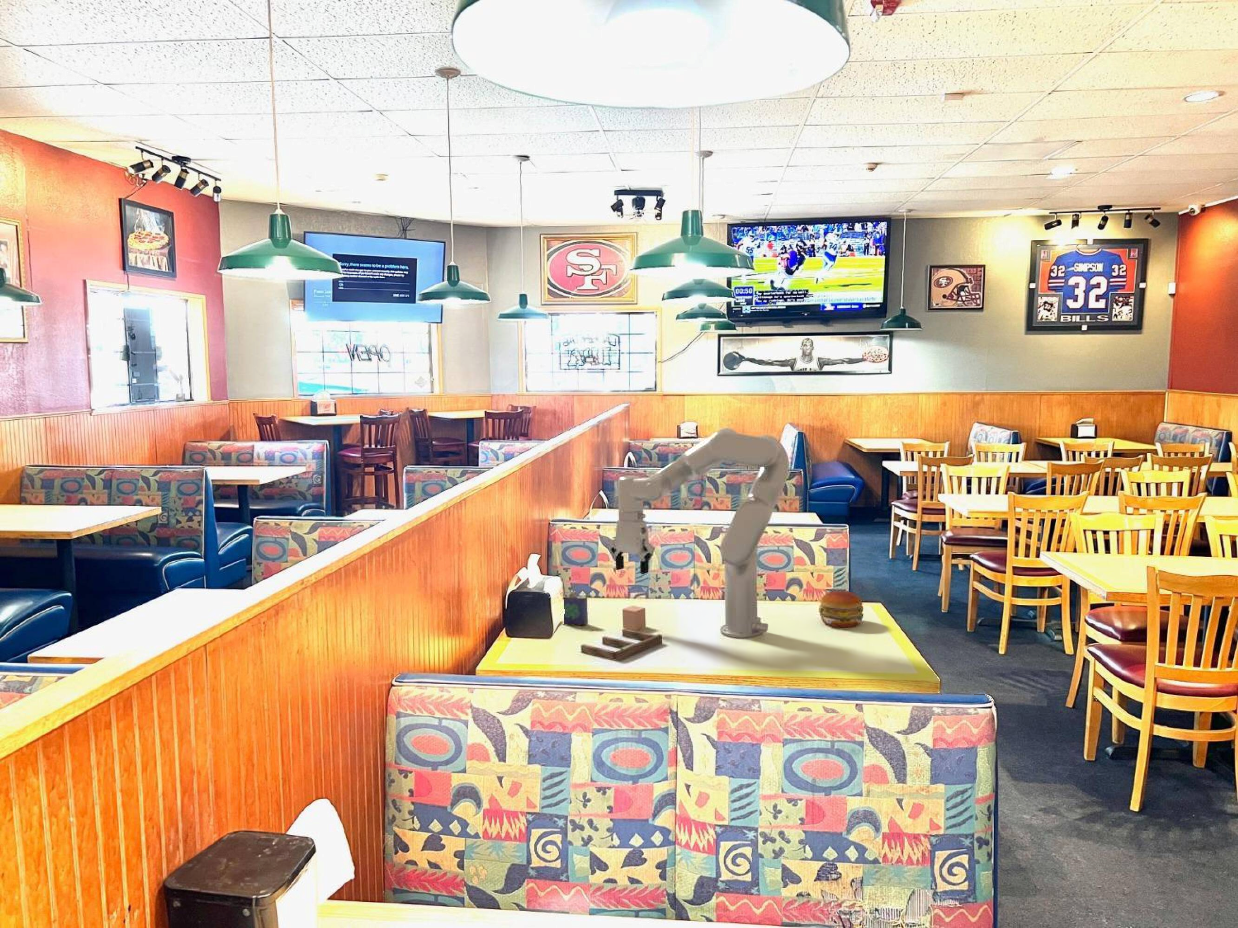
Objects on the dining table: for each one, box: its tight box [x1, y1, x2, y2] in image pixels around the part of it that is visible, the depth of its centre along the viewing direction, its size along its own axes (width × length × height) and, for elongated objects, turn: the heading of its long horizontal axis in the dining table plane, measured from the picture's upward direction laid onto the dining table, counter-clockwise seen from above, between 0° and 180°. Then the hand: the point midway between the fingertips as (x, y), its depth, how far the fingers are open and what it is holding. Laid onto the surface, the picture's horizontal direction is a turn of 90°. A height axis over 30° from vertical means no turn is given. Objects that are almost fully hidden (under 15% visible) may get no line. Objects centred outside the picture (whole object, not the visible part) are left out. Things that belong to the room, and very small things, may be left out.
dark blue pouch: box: [563, 590, 589, 627], centre depth 279 cm, size 9×3×11 cm, turn 68°
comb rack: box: [580, 628, 663, 662], centre depth 254 cm, size 14×20×3 cm
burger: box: [818, 590, 864, 628], centre depth 271 cm, size 14×14×10 cm
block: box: [621, 605, 647, 631], centre depth 274 cm, size 5×5×6 cm
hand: (632, 571), depth 272 cm, fingers open, 9 cm apart
